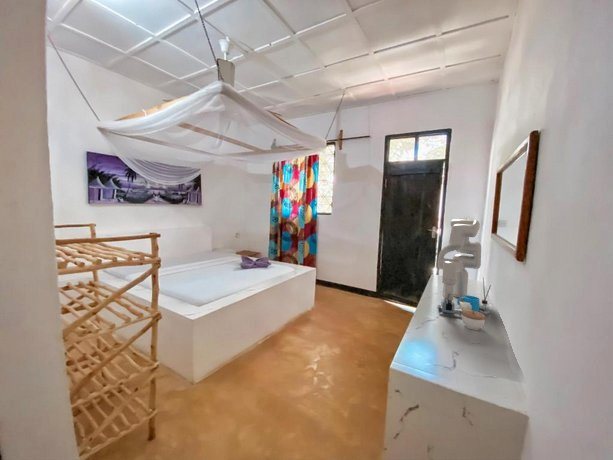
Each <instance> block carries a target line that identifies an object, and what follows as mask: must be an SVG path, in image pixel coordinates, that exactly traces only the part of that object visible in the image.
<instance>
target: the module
mask: <svg viewBox="0 0 613 460" xmlns="http://www.w3.org/2000/svg"><path fill="white" fill-rule="evenodd" d="M440 300H441V302H440V304H441V305H440V306H441V307H442V312H448V313H454V308H455V306H456V305H455V302H454V299H453V300H452V311H449V310H446V303H447V300H445V299H444V298H441V299H440ZM448 301H449V300H448Z"/></svg>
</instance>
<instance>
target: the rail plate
mask: <svg viewBox="0 0 613 460" xmlns="http://www.w3.org/2000/svg"><path fill="white" fill-rule="evenodd" d="M459 304H460V306H459V308H455V307H454V313H448V312H442V307H441V305H440V304H438V305H437V307H436V308H437V312H438V314H439V316H442V317H448V318H453V319H455V318H456V319H461V320H462V311H463V310H471V308H472V306H471V305H470V303H467V302H464V301H459Z"/></svg>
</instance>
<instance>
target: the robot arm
mask: <svg viewBox="0 0 613 460" xmlns="http://www.w3.org/2000/svg"><path fill="white" fill-rule="evenodd" d="M480 225H481V224H480V222H479V220H477V219H462V218H460V219H459V218H458V219H457V218H456V219H452V220H451V221H450V228H451V229H450V234H449V240H448V244H446V246H444V247H443V248H442V249H441V250H440V251H439V254H438V258H437V268H438V269H439V270H442V279H441V282H442V284H443V285H442V294H441V295H442V299H445V300H447V303H446V310H449V311H452V300H453V301H454V297H455V298H458V299H459V298H462V297H464V296H470V294H469V293H468V286H469V285H468V284H469V272H468V271H467V270H468V269H472V270H478V269H480V268H481V266H482V265H481V264H482V244H481V243H480V242H478V241H473V240H472V241H471V240H470V238H476V236H477V234H478V232H479V230H480V227H481V226H480ZM451 252H456V253H457V254H455V255H453V256H452V258H446V257H445V256H446V254H448V253H451ZM458 253H459V254H458ZM448 300H449V301H448Z"/></svg>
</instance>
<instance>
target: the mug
mask: <svg viewBox="0 0 613 460" xmlns="http://www.w3.org/2000/svg"><path fill="white" fill-rule="evenodd" d="M460 300H463V302H467V303H470V305H471V306H472V308H471V310H472V311H477V312H478V311H479V312H480V298H479V297H478V296H475V295H469V296H464V297H462V298H459V297H458V299H457V301H456V302H457V305H458V306H459V307H460Z"/></svg>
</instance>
